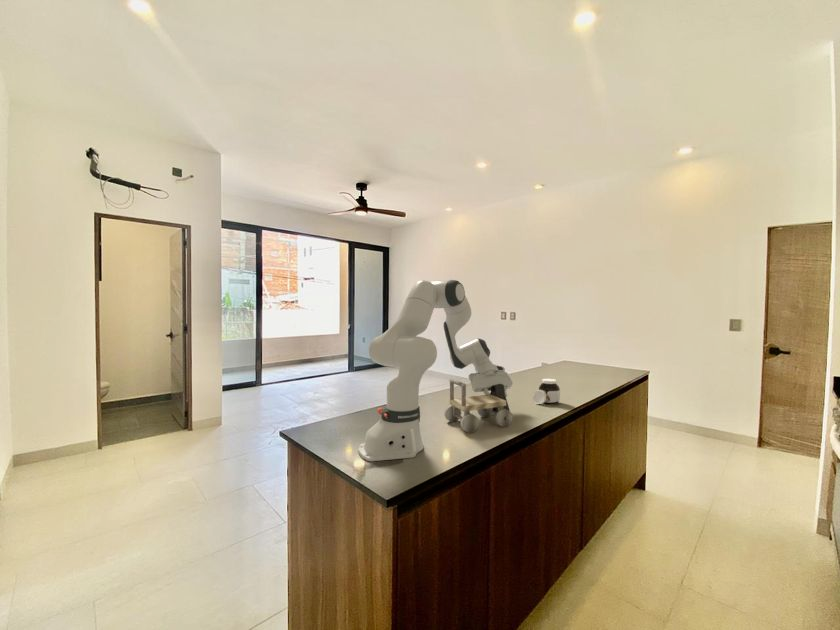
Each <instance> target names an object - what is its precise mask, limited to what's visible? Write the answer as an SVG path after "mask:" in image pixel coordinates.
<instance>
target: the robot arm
mask: <svg viewBox="0 0 840 630" xmlns="http://www.w3.org/2000/svg"><path fill="white" fill-rule="evenodd" d="M434 309H443V311H444V312H445V316H446V317H445V320H444V322H443V331H444V335H445V339H446V343H447V347H448V349H449V350H448V351H449V358H450V359H449V360H450V362H451V364H452V365H453V366H454V368H455V369H461V370H462V369H464V368H466V367H468V366H469V365H471V364H472V365H473V366H474V370H475V372H473V373H470V374H469V375H468V379H469V381H470V385H471V388H472V390H473V391H474V392H475V393H481V392H483V395H489V394H490V393H491V386H493V385H497V384H503V385H504V392H505V396H506V398H507V397H508V393H507V389H511V388H512V387H513V381H512V379H511V377H510V375H509V374H508V372H507V371H506V369H505V367H504V366H503V365H502V366H501V365H498V364H493V362H492V361H491V359H490V355H491V350H490V348H489V347H488V345H487V342H486V340H484V339H482V338H479V337H478V338H476V339H473V340H471V341H469V342H467V343H464V344H461V345H459V346H457V340H456V336H457V333H458V332H459V331H460V330H461V329H462V328H463V327H464V326H466V325H467V324H468V322H469V321H470V319H471V317H472V308H471V304H470V302H469V300H468V298H467V296H466V292H465V288H464V286H463V284H462V283H461V282H460V281H459V280H455V279H449V280H436V281H435V280H434V281H429V280H419V281H417V282H415V284H414V285H413V287H412V288H411V289H410V291H409V293H408V295H407V296H406V299H405V301H404V304H403V306H402V308H401V310H400V313H399V315H398V317H397V318H396V320H395V321H394V322H393V323H392V325H391V326H390V327H389V328H388V329H387V330H385V332H383V333H382V334H380V335H378V336H377V337H376V336H375V337H374V338H373V339H372V340H371V342H370V344H369V347H368V354H369V357H370V359H371V361H372V362H373V363H376V364H377V365H381V366H384V367H392V368H398V375H397V377H395V378H393V379H392V380H390V381H389V383H388V384H387V386H386V406H385V408H382V407H378V408H377V410H376V411H377V413H378V415H380V416H381V418H380V419H379V420H378V421H377V422H376V423H375V424H373V425H372V426H371V427H370V428H369V429H368V430H367V431H366V434H365V437H364V442H363V443H360V444H359V445H358V449H357V452H358V454H359V455H360V458H362V459H364V460H366V461H368V462H376V461H377V462H379V461H388V460H389V461H390V460H400V459H411V458H415V457H416V456H417V454H418V453H419V452H421V451H423V449H424V443H423V440H422V434H421V429H420V421H421V409H420V406H419V393H420V384H421V380H422V378H423V376H424V374H425V373H426V371H427V370H429V369H430V368H431V367H432V366H434V364H435V363H436V360H437V357H438V349H437V346H436V344H435V342H434V341H433V340H432V339H430V338H426V337H422V336H419V335H421V334H423V333H424V332H425V331H426V330H427V329H428V327H429V323H430V321H431V319H432V316H433V312H434V311H435V310H434ZM490 395H492V394H490Z"/></svg>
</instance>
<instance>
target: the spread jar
mask: <svg viewBox="0 0 840 630" xmlns="http://www.w3.org/2000/svg"><path fill="white" fill-rule="evenodd" d="M557 383H558V382H557V379H553V378H542V379H541V384H539V387H538V390H536V391H535V392H534V393H533V395H532V401H533V402H534V403H535V404H536V405H539V404H541V405H543V404H544V403H545V405H549V404H554V405H557V404H558V403H559V402H560V400H561V388H560V387H559V385H558V384H557Z"/></svg>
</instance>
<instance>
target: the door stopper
mask: <svg viewBox="0 0 840 630" xmlns="http://www.w3.org/2000/svg"><path fill="white" fill-rule="evenodd" d="M489 393H490V394H492V395H493V396H495V397H498V398H500V399H503V400H505V401H506V406H504V409H506V410H509V411H510V412H511V410H510V407H509V403H508V400H507V397H506V396H505V392H504V385H503V384H497V385H493V386H491V391H490V392H489ZM493 411H494V412H496V413H497V412H498V407H493Z"/></svg>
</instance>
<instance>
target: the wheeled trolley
mask: <svg viewBox="0 0 840 630" xmlns="http://www.w3.org/2000/svg"><path fill="white" fill-rule="evenodd" d="M455 385H456V386H459V387H460V388H461V397H459V398H458V397H456V398H455ZM466 395H467V384H466V383H464V382H461V381H459V380H456V379H454V378H450V379H449V404H448V405H447V406H446V408H445V410H444V413H443V414H444V417H445V419H446V420H447V421H448V422H449V423H456V422H457V421H459V420H460V428H461V429H462V430H463V431H465V432H466V433H468V434H473V433H474V432H476V430H477V429H478V427H479V425H480V424H479V419H478V417H477V416H476V415H474V414H473V413H471V411H477V414H478V415H479V416H480V417H482V418H488V417H490V416H491V415H494V416H495V417H494V420H495V422H496V424H497V425H498V426H500V427H502V428H507V427H508V426H510V425H511V424H512V421H513V413H512V412H511V410H510V409H509V410H510V411H509V410H506V409H504V406H506V401H505V400H503V399H500V398H498V397H495V396H493V395H490V394H489V395H485V394H483V395H472V396H466ZM493 407H498V412H497V413H496V412H494V411H493ZM462 412H463V413H464V414H463V416H462Z"/></svg>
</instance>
